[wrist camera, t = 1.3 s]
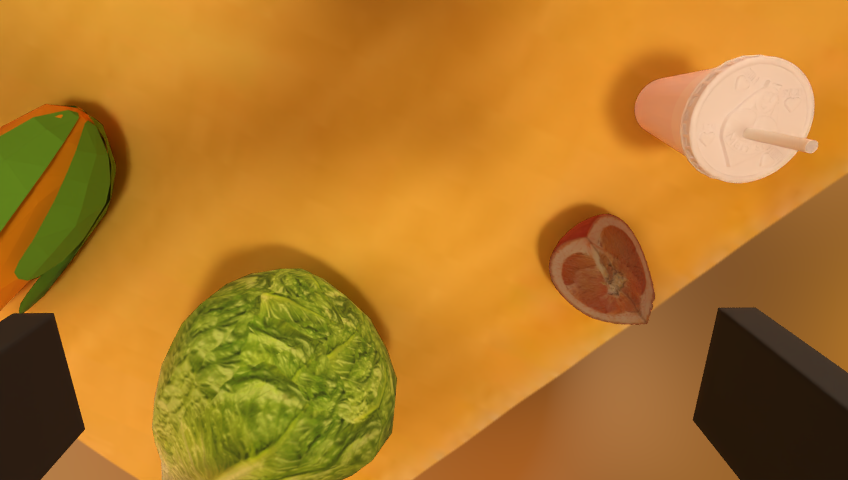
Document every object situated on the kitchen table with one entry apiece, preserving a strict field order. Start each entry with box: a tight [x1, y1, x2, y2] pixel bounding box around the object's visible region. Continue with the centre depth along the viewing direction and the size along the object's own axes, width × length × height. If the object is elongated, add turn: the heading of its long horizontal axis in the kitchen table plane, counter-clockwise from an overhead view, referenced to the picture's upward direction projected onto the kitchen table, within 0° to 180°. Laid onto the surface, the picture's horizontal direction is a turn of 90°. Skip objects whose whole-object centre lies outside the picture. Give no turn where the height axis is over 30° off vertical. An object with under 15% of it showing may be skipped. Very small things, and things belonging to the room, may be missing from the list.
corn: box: [0, 104, 116, 313], centre depth 32 cm, size 7×8×20 cm
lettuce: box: [152, 269, 397, 480], centre depth 36 cm, size 14×23×14 cm
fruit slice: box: [549, 214, 655, 325], centre depth 36 cm, size 8×7×5 cm
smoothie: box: [635, 55, 818, 183], centre depth 28 cm, size 6×6×14 cm
